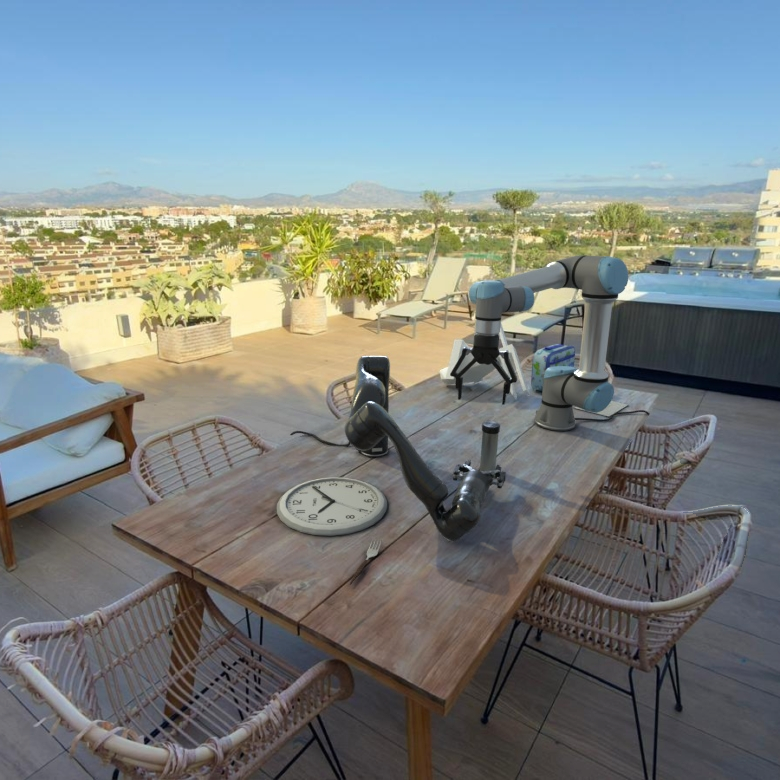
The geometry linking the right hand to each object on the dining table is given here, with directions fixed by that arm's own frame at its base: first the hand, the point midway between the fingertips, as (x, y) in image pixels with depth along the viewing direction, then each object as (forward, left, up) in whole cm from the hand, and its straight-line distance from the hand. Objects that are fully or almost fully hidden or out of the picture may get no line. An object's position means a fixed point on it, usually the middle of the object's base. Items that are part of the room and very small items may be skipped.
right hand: (481, 401), depth 163 cm
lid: (-3, +4, -6) cm, 8 cm away
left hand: (-1, +13, -16) cm, 21 cm away
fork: (+27, +57, -22) cm, 67 cm away
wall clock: (+40, +32, -22) cm, 56 cm away
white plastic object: (-4, -79, -22) cm, 82 cm away
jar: (-3, +4, -22) cm, 22 cm away
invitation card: (-56, -67, -22) cm, 90 cm away
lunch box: (-39, -91, -22) cm, 101 cm away
